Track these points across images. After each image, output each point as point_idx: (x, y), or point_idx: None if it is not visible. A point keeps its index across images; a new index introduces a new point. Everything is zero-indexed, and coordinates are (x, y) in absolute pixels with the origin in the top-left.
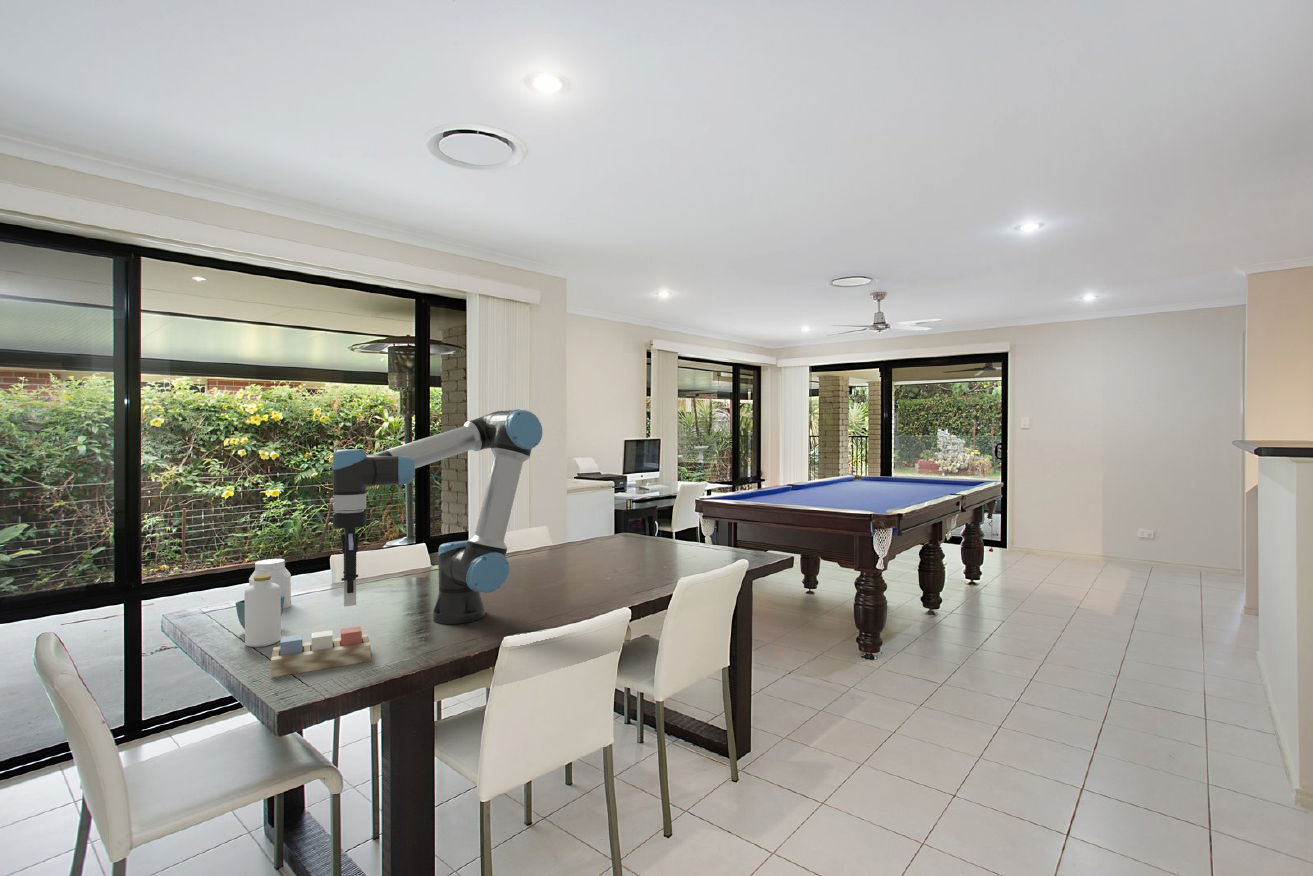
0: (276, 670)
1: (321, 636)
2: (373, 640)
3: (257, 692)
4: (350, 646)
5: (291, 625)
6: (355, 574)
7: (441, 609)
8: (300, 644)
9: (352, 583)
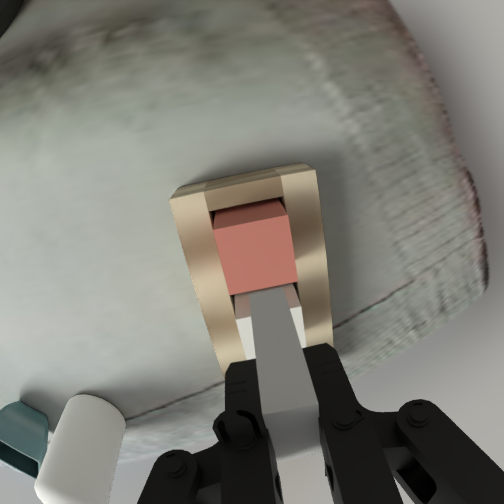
0: None
1: (302, 334)
2: (96, 186)
3: (392, 357)
4: (305, 234)
5: (2, 379)
6: (450, 423)
7: None
8: None
9: (353, 394)
